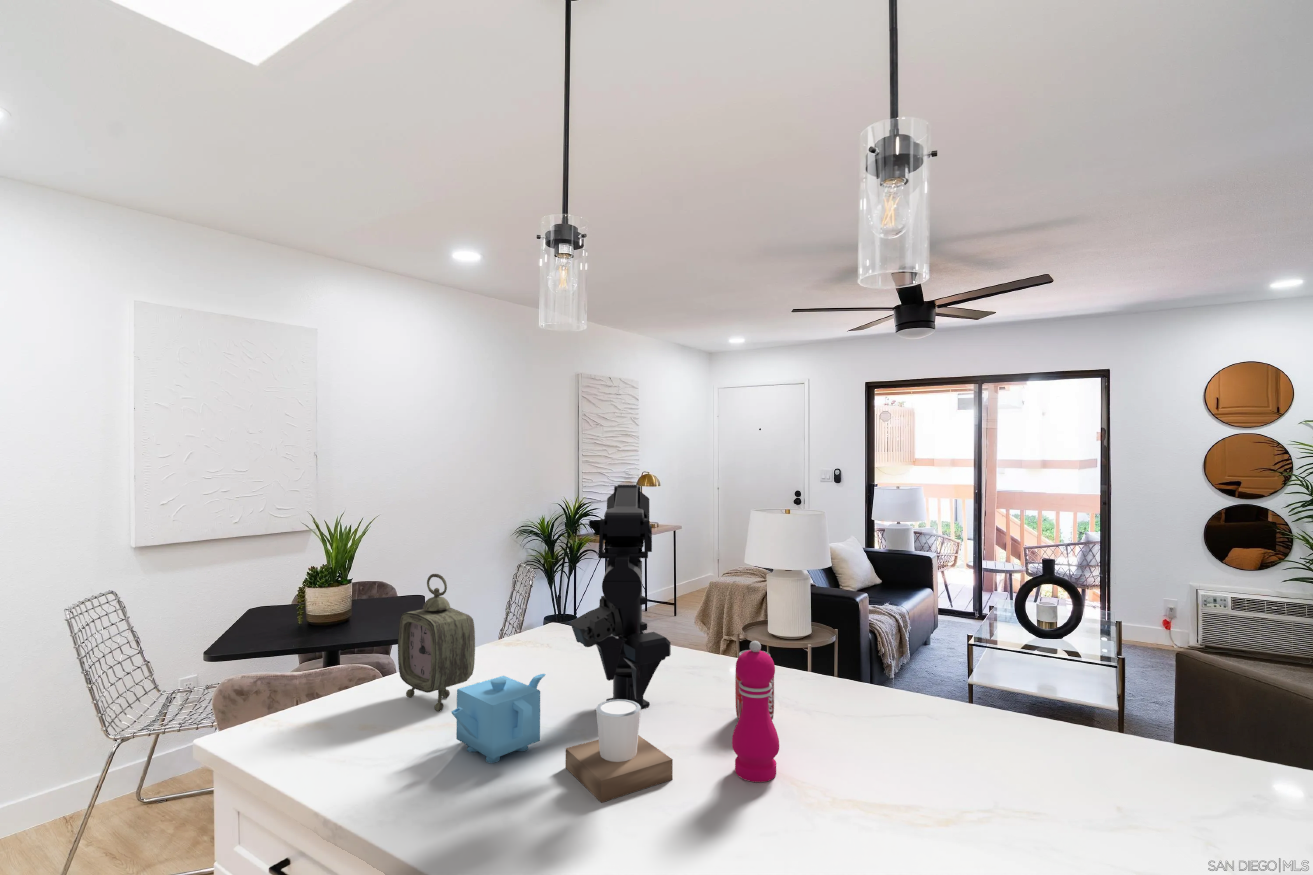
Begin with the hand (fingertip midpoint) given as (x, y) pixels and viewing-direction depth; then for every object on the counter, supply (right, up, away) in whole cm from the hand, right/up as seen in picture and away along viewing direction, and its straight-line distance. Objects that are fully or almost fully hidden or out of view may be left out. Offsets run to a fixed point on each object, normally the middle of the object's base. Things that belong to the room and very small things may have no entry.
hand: (623, 688), depth 102 cm
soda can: (+23, -12, +16) cm, 31 cm away
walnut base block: (-1, -11, -4) cm, 12 cm away
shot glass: (-1, -9, -4) cm, 9 cm away
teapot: (-20, -12, +5) cm, 24 cm away
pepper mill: (+20, -12, -3) cm, 24 cm away
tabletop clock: (-38, -13, +25) cm, 48 cm away
